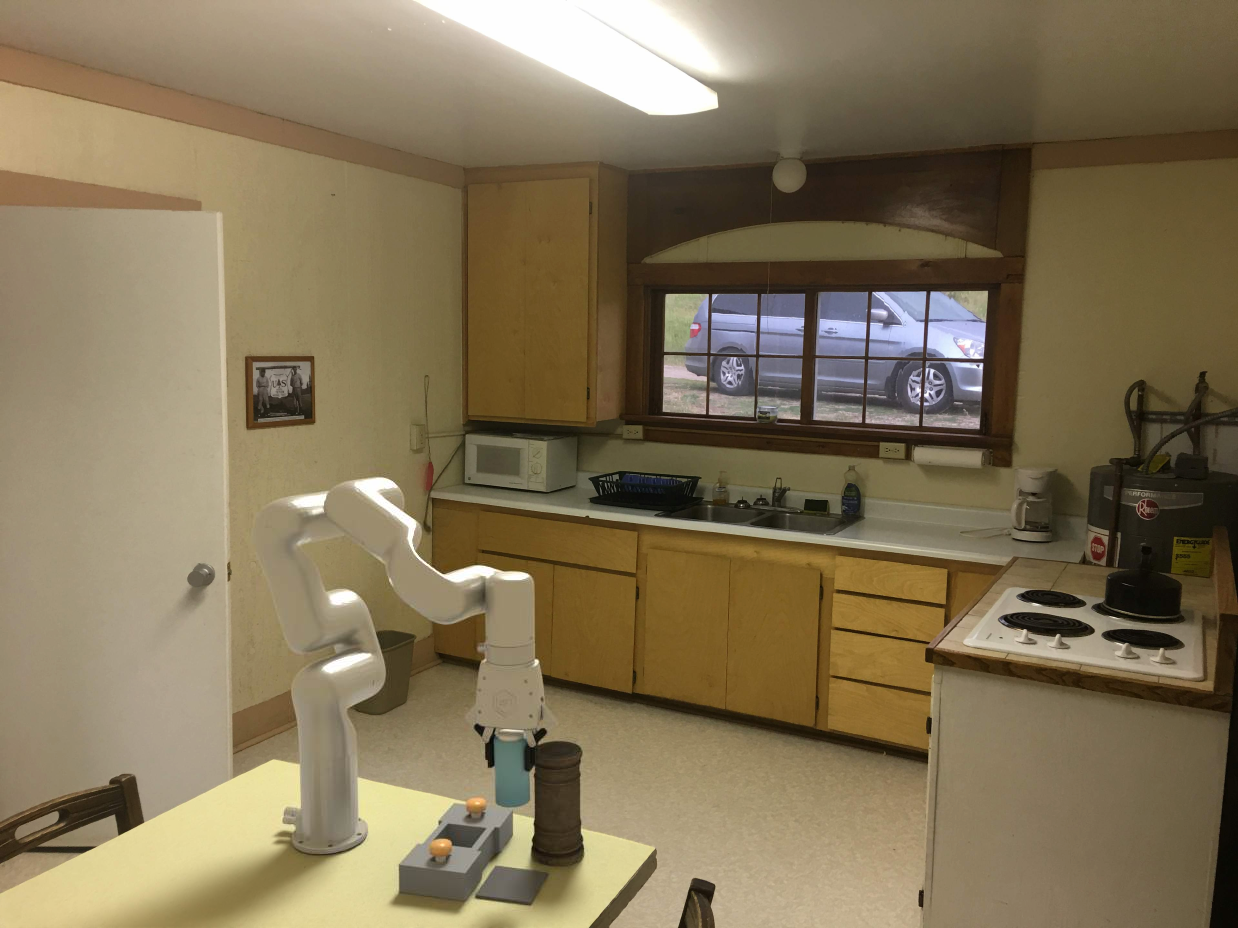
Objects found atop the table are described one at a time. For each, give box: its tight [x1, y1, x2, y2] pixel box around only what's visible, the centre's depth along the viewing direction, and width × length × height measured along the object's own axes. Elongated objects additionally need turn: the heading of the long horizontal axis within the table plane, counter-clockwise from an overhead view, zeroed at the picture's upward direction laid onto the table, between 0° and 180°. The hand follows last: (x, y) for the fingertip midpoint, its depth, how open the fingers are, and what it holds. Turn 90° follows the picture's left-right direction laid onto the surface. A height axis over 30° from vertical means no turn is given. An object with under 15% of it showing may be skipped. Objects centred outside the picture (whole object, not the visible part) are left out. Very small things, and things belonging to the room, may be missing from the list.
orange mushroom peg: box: [465, 797, 487, 819], centre depth 161 cm, size 3×3×6 cm
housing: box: [398, 802, 514, 902], centre depth 154 cm, size 11×22×4 cm, turn 167°
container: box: [530, 740, 585, 867], centre depth 157 cm, size 9×9×18 cm
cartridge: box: [493, 729, 531, 809], centre depth 146 cm, size 5×5×11 cm
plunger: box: [430, 839, 452, 863], centre depth 147 cm, size 3×3×6 cm
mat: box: [474, 865, 549, 906], centre depth 147 cm, size 9×9×1 cm
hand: (511, 765), depth 146 cm, fingers closed on cartridge, 5 cm apart
